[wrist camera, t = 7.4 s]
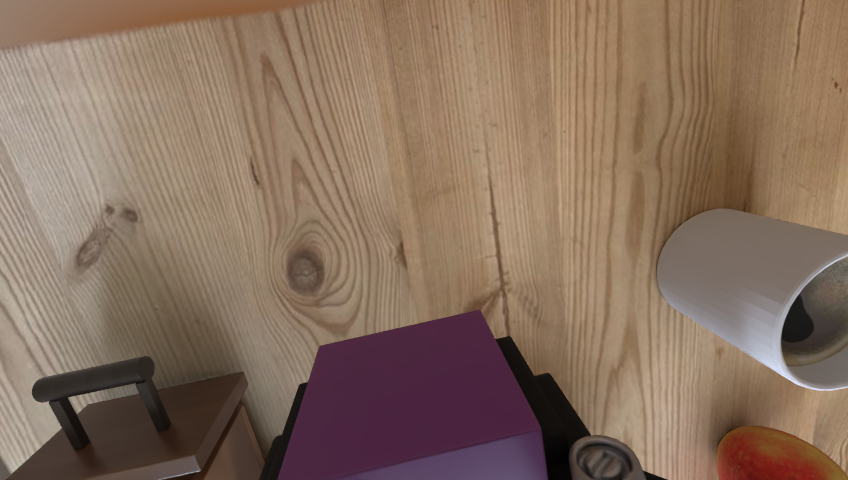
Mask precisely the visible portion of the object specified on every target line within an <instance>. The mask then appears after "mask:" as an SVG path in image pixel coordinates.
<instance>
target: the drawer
mask: <svg viewBox="0 0 848 480" xmlns="http://www.w3.org/2000/svg"><path fill="white" fill-rule="evenodd" d="M154 369H155V367H154V362H153V360H152V359H151V358H150V357H147V356H144V357H139V358H134V359H130V360H125V361H120V362H115V363H110V364H106V365H101V366H96V367H91V368H87V369H82V370H77V371H72V372H67V373H63V374H58V375H53V376H48V377H43V378H41V379H39V380H38V381H36V383H35V384H34V386H33V389H32V395H33V398H34V399H35V400H36V401H38V402H42V403H43V402H48V401H50V402H49V405H50V406H51V408H52V410H53V412H54V414H55V416H56V417H57V419H58V421H59V423H60V425H61V427H62V429H61V430H60V431H58V432H57V433H56V434H55V435H54V436H53V437H52V438H51V439H50V440H49V441H47V442H46V443H45V444H44V445H43V446H42V447H41V448H40V449H39V450H38V451H37V452H35V453H34V454H33V455H32V456H31V457H30V458H29V459H28V460H27V461H26V462H25V463H23V464H22V465H21V466H20V467H19V468H18V469H17V470H16V471H15V472H14V473H13V474H11V475H10V476H9V477H8V478H7V479H6V480H259V478H260V476H261V473H262V470H263V467H264V465H265V461H264V458H263V456H262V453H261V450H260V448H259V445H258V442H257V440H256V437H255V434H254V432H253V429H252V426H251V424H250V421H249V418H248V416H247V413H246V410H245V408H244V405H243V404H242V405H238V406H237V404H238V403H239V401H240V399H241V397H242V395H243V393H244V392H245V390H246V388H247V386H248V382H247V379H246V377H245V374H244V372H239V373H234V374H229V375H225V376H220V377H215V378H211V379H206V380H201V381H196V382H192V383H187V384H182V385H178V386H173V387H168V388H163V389H159V390H157V389H156V387H155V385H154V383H153V380H152V376H153V374H154ZM134 383H136V387H137V389H138V391H139V394H135V395H130V396H126V397H121V398H116V399H111V400H107V401H102V402H97V403H93V404H88V405H87V406H86V407H85V408H84V409H82V410H81V411H80V412H79V413H78V414H76V412H75V411H74V409H73V407H72V405H71V403H70V401H69V399H68V397H72V396H77V395H81V394H86V393H91V392H96V391H100V390H105V389H110V388H115V387H119V386H124V385H129V384H134Z"/></svg>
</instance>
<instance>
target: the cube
mask: <svg viewBox="0 0 848 480" xmlns="http://www.w3.org/2000/svg"><path fill="white" fill-rule="evenodd" d="M278 480H548V473H547V466H546V459H545V452H544V445H543V438H542V430H541V427H540V425H539V423H538V421H537V419H536V417H535V415H534V413H533V411H532V409H531V407H530V405H529V403H528V401H527V400H526V398H525V396H524V394H523V392H522V390H521V388H520V386H519V384H518V382H517V380H516V378H515V376H514V374H513V373H512V371H511V369H510V367H509V365H508V363H507V361H506V359H505V357H504V355H503V353H502V351H501V349H500V347H499V346H498V344H497V342H496V340H495V338H494V336H493V334H492V332H491V330H490V328H489V326H488V324H487V322H486V320H485V318H484V317H483V315H482V313H481V311H480V310H476V311H472V312H468V313H463V314H459V315H454V316H450V317H446V318H441V319H437V320H432V321H428V322H423V323H419V324H415V325H410V326H406V327H401V328H397V329H392V330H388V331H384V332H379V333H375V334H370V335H366V336H361V337H357V338H353V339H348V340H344V341H339V342H335V343H331V344H326V345H322V346H319V349H318V352H317V355H316V358H315V362H314V365H313V368H312V371H311V374H310V378H309V381H308V384H307V387H306V390H305V393H304V397H303V400H302V403H301V406H300V409H299V413H298V416H297V419H296V422H295V425H294V429H293V432H292V435H291V438H290V441H289V445H288V448H287V451H286V454H285V457H284V460H283V464H282V467H281V470H280V473H279V476H278Z"/></svg>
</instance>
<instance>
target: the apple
mask: <svg viewBox="0 0 848 480" xmlns="http://www.w3.org/2000/svg"><path fill="white" fill-rule="evenodd" d="M716 465H717V470H718V474H719V477H720V480H848V477H847V475H846V474H845V472H844V471H843V470H842V469H841V468H840V467H839V465H838V464H836V463H835V462H834V461H833V460H832V459H831V458H830V457H828V456H827V455H826V454H825V453H823V452H822V451H820V450H819V449H818V448H816V447H814V446H813V445H811V444H809V443H807V442H805V441H804V440H802V439H800V438H798V437H796V436H793V435H791V434H789V433H786V432H783V431H780V430H776V429H773V428H768V427H762V426H744V427H739V428H736V429H734V430H732V431H730V432H728V433H727V434H726V435H725V436H724V437H723V438H722V439H721V441H720V443H719V445H718V448H717V453H716Z"/></svg>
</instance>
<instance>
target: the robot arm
mask: <svg viewBox="0 0 848 480" xmlns="http://www.w3.org/2000/svg"><path fill="white" fill-rule="evenodd" d="M495 340H496V342H497V344H498V346H499V347H500V349H501V351H502V353H503V355H504V357H505V359H506V361H507V363H508V365H509V367H510V369H511V371H512V373H513V374H514V376H515V378H516V380H517V382H518V384H519V386H520V388H521V390H522V392H523V394H524V396H525V398H526V400H527V401H528V403H529V405H530V407H531V409H532V411H533V413H534V415H535V417H536V419H537V421H538V423H539V425H540V427H541V430H542V438H543V445H544V452H545V459H546V466H547V473H548V480H667V479H664V478H661V477H659V476H656V475H653V474H651V473H648V472H645V471H643V470H642V467H641V465H640V462H639V460H638V458H637V457H636V455H635V453H634V452H633V451H632V450H631V449H630V448H629V447H628V446H627V445H626V444H624V443H622V442H620V441H619V440H617V439H614V438H611V437H608V436H601V435H592V436H591V434H590V433H589V431H588V430H587V428H586V427H585V425H584V424H583V422H582V421H581V419H580V418H579V416H578V415H577V413H576V412H575V410H574V409H573V407H572V406H571V404H570V403H569V401H568V400H567V398H566V397H565V395H564V394H563V392H562V391H561V389H560V388H559V386H558V385H557V383H556V382H555V380H554V379H553V377H552V376H551V375H550V374H549V373H545V374H541V375H537V376H534V375H533V373H532V371H531V370H530V368H529V366H528V365H527V363H526V361H525V360H524V358H523V356H522V355H521V353H520V351H519V350H518V348H517V346H516V345H515V343H514V341H513V340H512V338H511V337H510V336H507V337H503V338H498V339H495ZM307 384H308V382H306V383H302V384H300V385H299V387H298V390H297V393H296V396H295V399H294V402H293V404H292V407H291V410H290V413H289V416H288V419H287V422H286V425H285V428H284V431H283V434H282V435H279V436H277V437H275V439H274V441H273V443H272V445H271V448H270V451H269V454H268V456H267V459H266V462H265V465H264V467H263V470H262V473H261V476H260V478H259V480H278V476H279V473H280V470H281V467H282V464H283V460H284V457H285V454H286V451H287V448H288V445H289V441H290V438H291V435H292V432H293V429H294V425H295V422H296V419H297V416H298V413H299V409H300V406H301V403H302V400H303V397H304V393H305V390H306V387H307Z"/></svg>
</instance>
